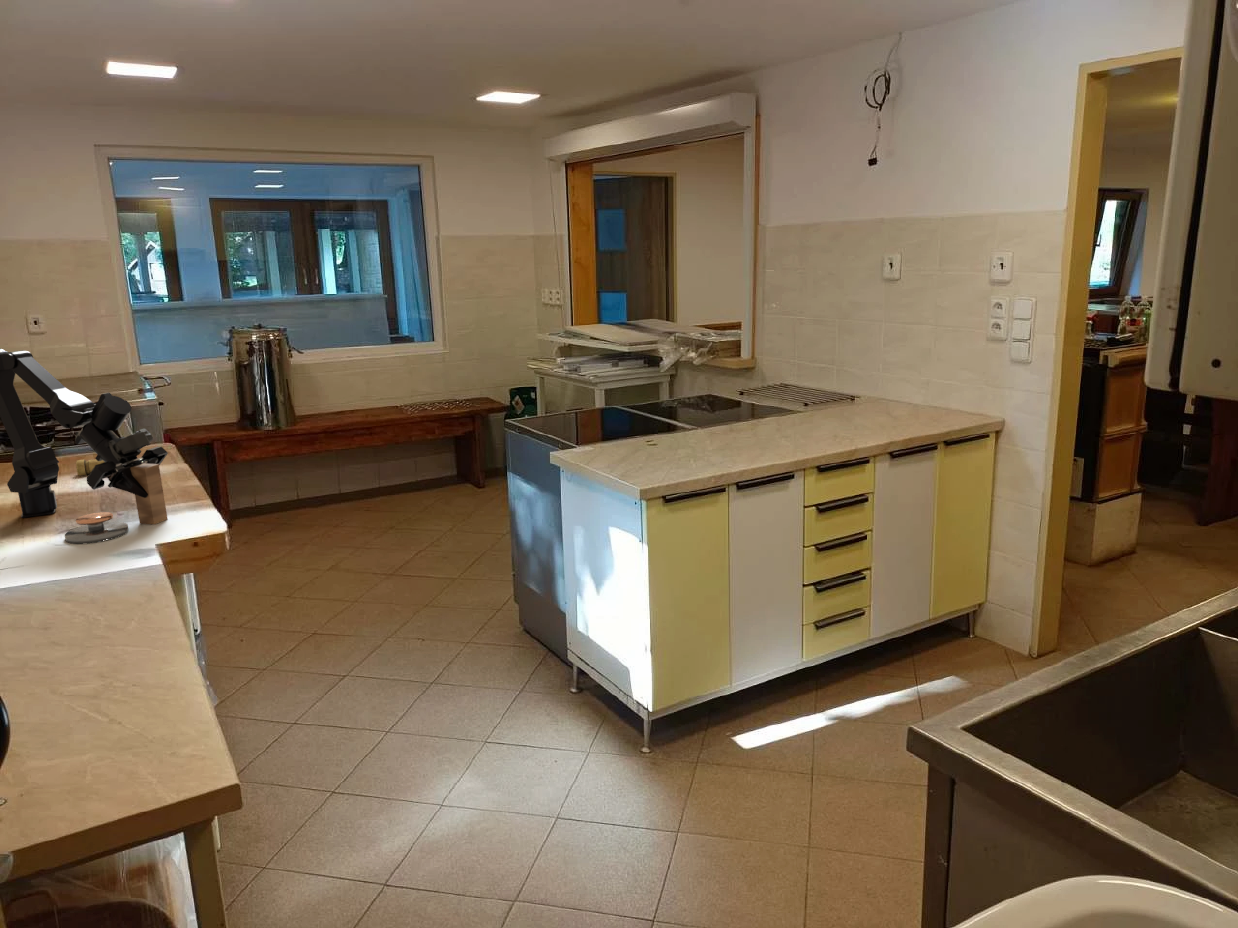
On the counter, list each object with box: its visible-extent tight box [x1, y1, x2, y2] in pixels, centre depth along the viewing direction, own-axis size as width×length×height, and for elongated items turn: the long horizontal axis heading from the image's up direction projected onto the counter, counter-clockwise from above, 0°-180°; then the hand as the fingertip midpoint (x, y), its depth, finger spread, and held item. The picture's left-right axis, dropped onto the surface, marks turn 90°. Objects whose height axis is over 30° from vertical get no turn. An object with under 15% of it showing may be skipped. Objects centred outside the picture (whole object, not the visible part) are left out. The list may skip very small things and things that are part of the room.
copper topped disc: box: [64, 511, 129, 545], centre depth 192 cm, size 12×12×4 cm
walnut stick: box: [130, 463, 168, 526], centre depth 199 cm, size 4×4×13 cm
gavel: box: [75, 458, 104, 477], centre depth 254 cm, size 21×5×10 cm
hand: (154, 493), depth 199 cm, fingers closed on walnut stick, 4 cm apart
